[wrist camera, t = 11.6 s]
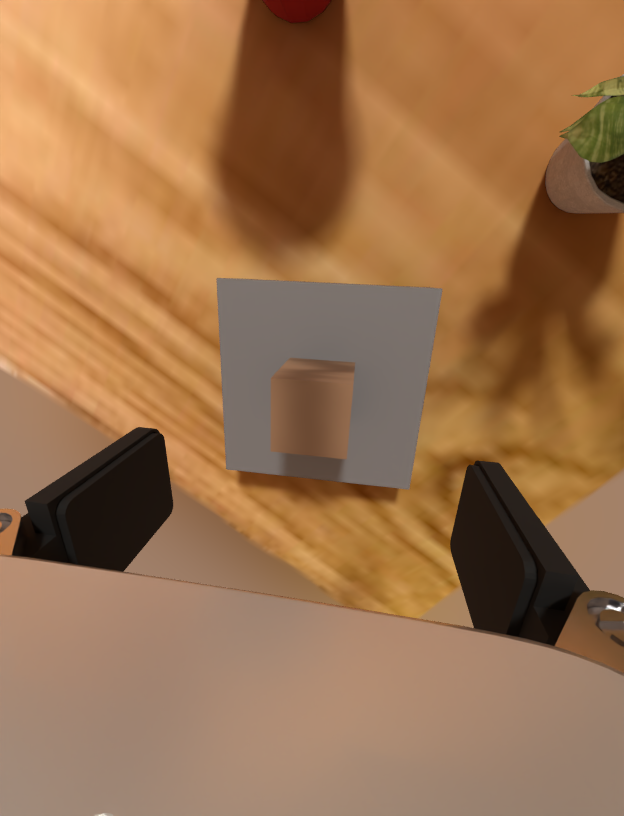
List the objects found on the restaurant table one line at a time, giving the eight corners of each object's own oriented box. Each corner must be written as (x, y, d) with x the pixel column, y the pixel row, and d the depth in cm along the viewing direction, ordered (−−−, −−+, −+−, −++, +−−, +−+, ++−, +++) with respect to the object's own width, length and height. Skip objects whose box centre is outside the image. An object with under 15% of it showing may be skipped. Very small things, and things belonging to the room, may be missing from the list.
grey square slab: (431, 287, 27) (442, 288, 23) (403, 465, 33) (409, 489, 29) (235, 278, 29) (216, 278, 25) (240, 449, 34) (226, 469, 31)
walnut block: (355, 362, 26) (353, 384, 20) (349, 423, 28) (346, 459, 22) (289, 357, 26) (270, 377, 21) (288, 417, 28) (270, 451, 23)
